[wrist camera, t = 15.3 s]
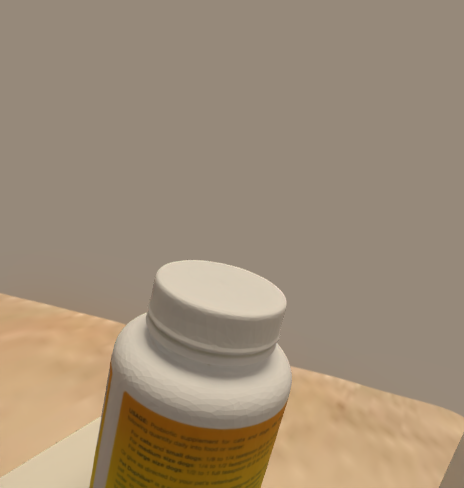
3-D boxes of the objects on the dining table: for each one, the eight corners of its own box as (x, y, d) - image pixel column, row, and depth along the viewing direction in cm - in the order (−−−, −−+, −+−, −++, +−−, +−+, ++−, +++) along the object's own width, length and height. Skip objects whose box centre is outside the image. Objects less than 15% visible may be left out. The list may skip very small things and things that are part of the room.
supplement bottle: (264, 593, 13) (356, 326, 10) (96, 676, 10) (166, 339, 8) (198, 463, 17) (252, 254, 15) (67, 497, 14) (106, 245, 12)
